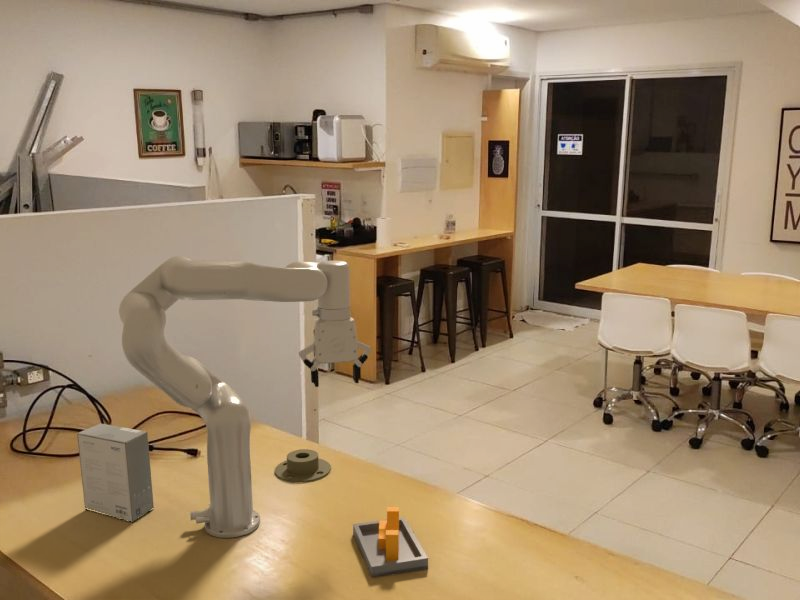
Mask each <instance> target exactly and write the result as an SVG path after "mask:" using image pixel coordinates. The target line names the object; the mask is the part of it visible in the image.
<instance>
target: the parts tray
mask: <svg viewBox="0 0 800 600" xmlns="http://www.w3.org/2000/svg"><path fill="white" fill-rule="evenodd" d="M379 521H380V520H373V521H368V522H367V521H366V522H361V523H360V522H359V523H354V524H352V527H353V528H352V533H353V537H354V540H355V542H356V544H357V546H358V549H359V552H360V553H361V557H362V558H363V561H364V563H365V565H366V568H367V570H368V572H369V575H370V577H371V579H374V578H380V577H389V576H393V575H398V574H406V573H412V572H418V571H425V570H428V569H429V557H428V555H427V554H426V552H425V550H424V549H423V547H422V545H421V543H420V542H419V540H418V538H417V537H416V535H415V533H414V531H413V529H412V528H411V526H410V524H409V522H408V521H407V519H406V518H405V516H403V517H399V560H395V561H388V562H386V549H379Z"/></svg>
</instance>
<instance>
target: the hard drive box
mask: <svg viewBox="0 0 800 600" xmlns="http://www.w3.org/2000/svg"><path fill="white" fill-rule="evenodd" d="M76 436H77V445H78V446H77V447H78V455H79V464H80V473H81V474H80V475H81V483H82V492H83V493H82V494H83V500H84V504H83V505H84V509H85V508H88V509H91V510H95V511H98V512H101V513H105V514H108V515H111V516H114V517H117V518H121V519H124V520H123V521H125V520H128V521H127V522H129V521H131V522H130V523H132V522H135V521H136V520H138V519H139V518H138V517H140V516H141V517H143V516H145V515H146V514H147V513H146V512H148V511H150V510H151V509H152V508H154V509H155V507H154V495H153V494H154V493H153V483H152V482H153V481H152V473H151V472H152V469H151V460H150V449H149V435H148V431H145V430H139V429H134V428H130V427H122V426H116V425H112V424H105V423H98V424H96V425H93V426H91V427H87V428H86V429H84V430H81V431H79V432H77V435H76ZM151 511H152V510H151ZM151 511H150V512H151ZM145 513H146V514H145ZM148 513H149V512H148ZM144 514H145V515H144ZM142 515H143V516H142ZM114 517H113V518H114ZM141 517H140V518H141ZM117 518H116V519H117ZM137 518H138V519H137ZM134 520H135V521H134Z"/></svg>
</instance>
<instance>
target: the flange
mask: <svg viewBox="0 0 800 600" xmlns="http://www.w3.org/2000/svg"><path fill="white" fill-rule="evenodd" d="M286 464H287V465H286ZM331 466H332V465H331V463H330V462H328V461H327V460H325V459H324V458H319V453H318V452H317V451H316V450H314V449H309V448H308V449H307V448H305V449H304V448H303V449H302V448H301V449H296V450H292V451H290V452H289V453H287V455H286V459H285V460H284V461H281V462H280V463H279V464H277V465H276V466H275V467H274V474H275V476H276V477H277V478H278V479H280V480H281V481H285V482H289V483H295V482H303V483H311V482H315V480H316V481H318V480H321V479H323V477H324V478H325V477H326V476H328V475H329V474H330V473H331V471H332V467H331Z"/></svg>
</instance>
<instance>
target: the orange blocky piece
mask: <svg viewBox="0 0 800 600" xmlns="http://www.w3.org/2000/svg"><path fill="white" fill-rule="evenodd" d="M399 518H400V507H399V506H387V507H386V519H382V520H381V519H379V520H378V521H379V549H386V562H388V561H395V560H399Z"/></svg>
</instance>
